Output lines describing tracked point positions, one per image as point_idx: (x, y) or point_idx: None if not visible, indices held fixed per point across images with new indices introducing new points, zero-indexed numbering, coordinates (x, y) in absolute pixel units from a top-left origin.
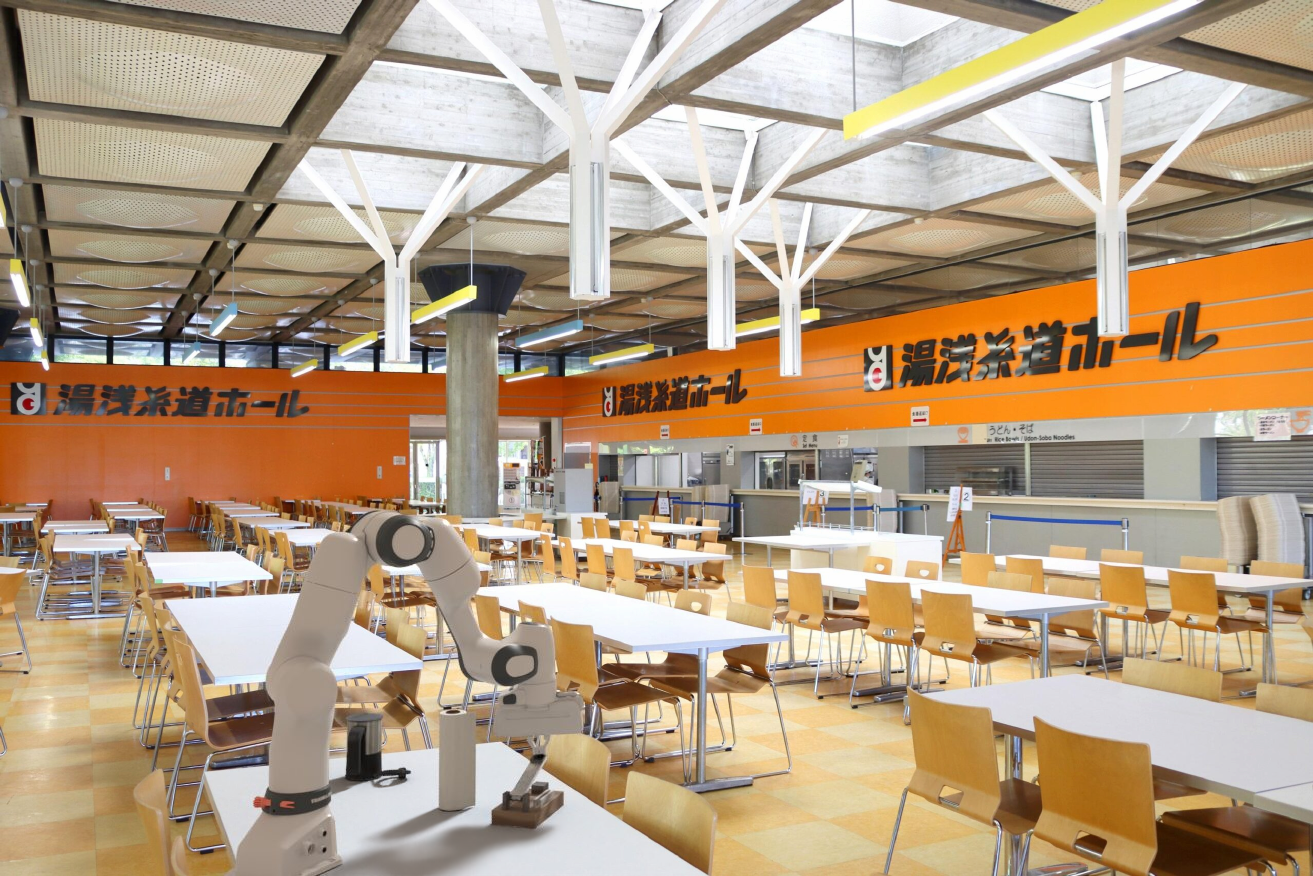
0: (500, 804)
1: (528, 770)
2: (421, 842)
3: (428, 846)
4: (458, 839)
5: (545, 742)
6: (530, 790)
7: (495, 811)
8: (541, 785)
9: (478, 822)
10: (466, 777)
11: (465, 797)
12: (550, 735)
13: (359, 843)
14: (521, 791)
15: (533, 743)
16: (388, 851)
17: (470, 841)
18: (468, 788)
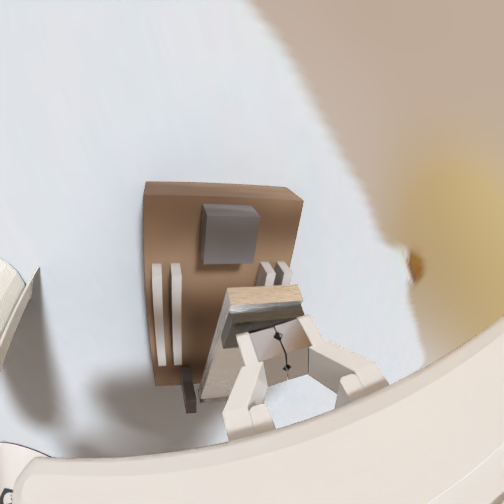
0: (153, 355)
1: (227, 361)
2: (97, 428)
3: (118, 435)
4: (140, 415)
5: (335, 392)
6: (184, 217)
7: (165, 383)
8: (243, 260)
9: (118, 356)
10: (5, 347)
11: (23, 310)
12: (380, 381)
13: (32, 434)
14: (228, 393)
15: (260, 398)
16: (84, 447)
17: (164, 417)
18: (15, 315)
